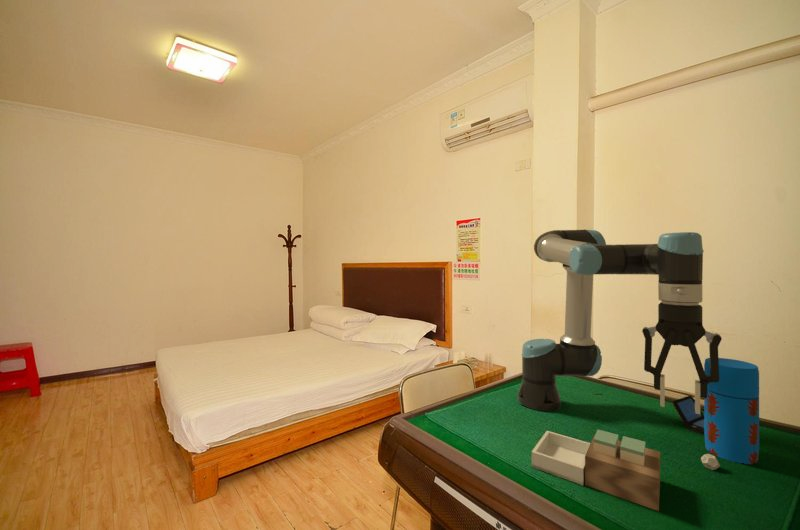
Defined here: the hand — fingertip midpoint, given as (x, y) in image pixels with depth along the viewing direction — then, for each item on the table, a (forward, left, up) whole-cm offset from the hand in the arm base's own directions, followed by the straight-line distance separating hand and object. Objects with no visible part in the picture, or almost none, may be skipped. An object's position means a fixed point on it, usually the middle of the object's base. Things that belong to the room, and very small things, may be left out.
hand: (679, 407), depth 76 cm
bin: (-24, 0, -21) cm, 32 cm away
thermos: (+11, +33, -21) cm, 41 cm away
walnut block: (-11, 0, -21) cm, 23 cm away
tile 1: (-14, 0, -14) cm, 20 cm away
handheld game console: (+6, +49, -21) cm, 54 cm away
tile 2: (-9, 0, -14) cm, 16 cm away
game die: (+6, +21, -21) cm, 30 cm away
